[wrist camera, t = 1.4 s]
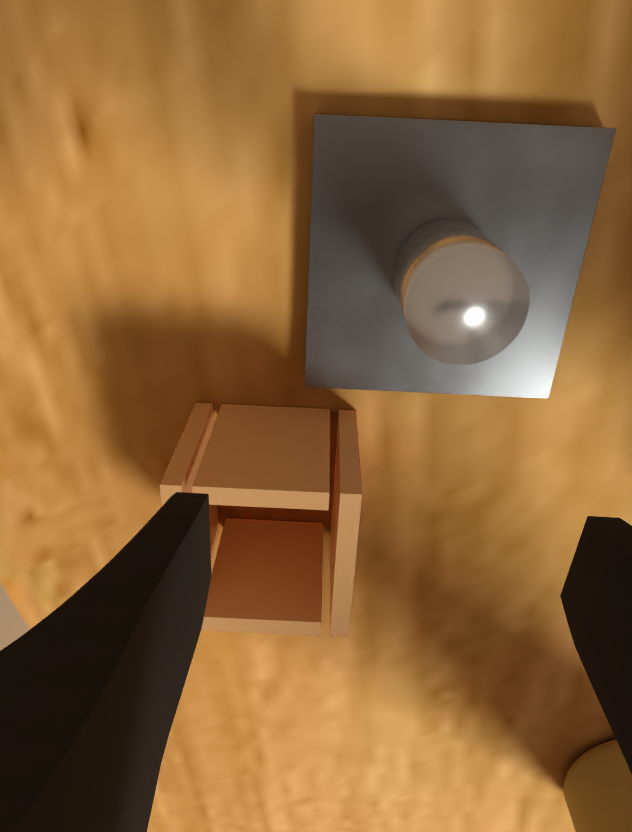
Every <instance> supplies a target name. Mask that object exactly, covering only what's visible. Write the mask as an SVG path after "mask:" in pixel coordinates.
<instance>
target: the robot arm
mask: <svg viewBox="0 0 632 832" xmlns="http://www.w3.org/2000/svg"><path fill="white" fill-rule="evenodd" d="M210 581H211V550H210V520H209V494H204V493H187V492H176V493H175V494H173V495H172V496H171V497H170V498H169V499H168V500H167V501H166V503H165V504H164V505H163V506H162V507H161V508H160V509H159V510H158V511H157V513H156V514H155V515H154V516H153V517H152V518H151V519H150V520H149V521H148V523H147V524H146V525H145V526H144V527H143V528H142V529H141V530H140V531H139V532H138V533H137V534H136V535H135V536H134V537H133V538H132V539H131V540H130V541H129V542H128V543H127V544H126V545H125V546H124V547H123V549H122V550H121V551H120V552H119V553H118V554H117V555H116V556H115V557H114V558H113V559H112V560H111V561H110V562H109V563H107V564H106V565H105V566H104V567H103V568H102V569H101V570H100V571H99V572H98V573H97V574H96V575H95V576H93V577H92V578H91V579H90V580H89V581H88V582H87V583H86V584H85V585H83V586H82V587H81V588H80V589H79V590H78V591H77V592H76V593H75V594H74V595H72V596H71V597H70V598H69V599H68V600H67V601H65V602H64V603H63V604H62V605H61V606H59V607H58V608H57V609H56V610H55V611H53V612H52V613H51V614H50V615H48V616H47V617H46V618H45V619H43V620H42V621H41V622H39V623H38V624H37V625H36V626H34V627H33V628H32V629H30V630H29V631H28V632H27V633H25V634H24V635H23V636H21V637H20V638H18V639H17V640H16V641H14V642H13V643H11V644H10V645H8V646H7V647H6V648H4V649H3V650H1V651H0V832H147V828H148V823H149V818H150V813H151V809H152V804H153V799H154V794H155V790H156V785H157V780H158V775H159V771H160V766H161V762H162V758H163V754H164V750H165V747H166V743H167V739H168V736H169V732H170V729H171V726H172V723H173V719H174V716H175V713H176V710H177V706H178V703H179V700H180V697H181V693H182V690H183V687H184V684H185V680H186V677H187V674H188V671H189V668H190V664H191V661H192V658H193V654H194V651H195V648H196V645H197V641H198V638H199V635H200V631H201V628H202V624H203V619H204V614H205V608H206V603H207V598H208V592H209V586H210ZM561 600H562V603H563V607H564V611H565V614H566V618H567V622H568V625H569V628H570V632H571V635H572V638H573V641H574V644H575V647H576V650H577V652H578V654H579V657H580V659H581V661H582V664H583V666H584V668H585V670H586V673H587V675H588V677H589V680H590V682H591V684H592V686H593V689H594V691H595V693H596V695H597V698H598V700H599V702H600V704H601V707H602V709H603V711H604V713H605V715H606V718H607V720H608V722H609V724H610V727H611V729H612V731H613V733H614V736H615V738H616V740H617V742H618V744H619V747H620V749H621V751H622V753H623V756H624V758H625V760H626V762H627V765H628V767H629V770H630V772H631V775H632V526H631V525H630V524H628V523H627V522H625V521H624V520H622V519H620V518H611V517H594V516H588V517H587V520H586V523H585V525H584V528H583V531H582V534H581V537H580V540H579V543H578V546H577V549H576V552H575V555H574V558H573V561H572V564H571V566H570V569H569V572H568V575H567V578H566V581H565V584H564V587H563V590H562V593H561Z"/></svg>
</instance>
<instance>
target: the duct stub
mask: <svg viewBox="0 0 632 832" xmlns="http://www.w3.org/2000/svg"><path fill="white" fill-rule="evenodd" d="M615 131H616V129H615V128H607V127H591V126H570V125H548V124H527V123H506V122H485V121H464V120H443V119H422V118H401V117H380V116H359V115H338V114H317V113H315V114H314V140H313V168H312V196H311V223H310V251H309V279H308V306H307V334H306V362H305V387H320V388H341V389H361V390H382V391H403V392H424V393H445V394H465V395H486V396H507V397H528V398H548V397H549V393H550V389H551V385H552V381H553V377H554V373H555V369H556V365H557V361H558V357H559V353H560V349H561V345H562V341H563V337H564V333H565V329H566V326H567V322H568V318H569V314H570V310H571V306H572V302H573V298H574V294H575V290H576V286H577V282H578V278H579V274H580V270H581V266H582V262H583V258H584V254H585V250H586V246H587V242H588V238H589V234H590V230H591V226H592V222H593V218H594V215H595V211H596V207H597V203H598V199H599V195H600V191H601V187H602V183H603V179H604V175H605V171H606V167H607V163H608V159H609V155H610V151H611V147H612V143H613V139H614V135H615Z"/></svg>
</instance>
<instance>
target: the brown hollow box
mask: <svg viewBox="0 0 632 832" xmlns="http://www.w3.org/2000/svg"><path fill="white" fill-rule="evenodd" d="M176 492H187V493H204V494H209V520H210V550H211V557H212V554H213V550H214V546H215V542H216V538H217V534H218V531H219V526H218V505H227V506H247V507H268V508H289V509H309V510H328V509H329V493H330V409H318V408H298V407H277V406H256V405H235V404H221V407H220V410H219V412H218V415H217V418H216V421H215V424H214V414H213V403H195V406H194V408H193V410H192V413H191V415H190V417H189V419H188V422H187V424H186V426H185V428H184V431H183V433H182V435H181V437H180V440H179V442H178V444H177V446H176V449H175V451H174V453H173V456H172V458H171V460H170V462H169V465H168V467H167V469H166V471H165V474H164V476H163V478H162V480H161V483H160V494H161V504H162V506H163V505H164V504H165V503H166V501H167V500H168V499H169V498H170V497H171V496H172V495H173V494H175V493H176ZM361 500H362V487H361V473H360V460H359V446H358V433H357V419H356V410H339V412H338V427H337V442H336V457H335V472H334V486H333V501H332V516H331V531H330V636H331V637H348V636H349V626H350V616H351V605H352V595H353V584H354V574H355V563H356V553H357V542H358V532H359V521H360V511H361ZM322 562H323V523H318V522H297V521H277V520H256V519H235V518H226V519H225V523H224V527H223V531H222V535H221V539H220V543H219V547H218V551H217V555H216V559H215V563H214V567H213V571H212V575H211V581H210V586H209V592H208V598H207V603H206V608H205V614H204V619H203V624H202V630H208V631H228V632H249V633H269V634H290V635H310V636H320V634H321V609H322Z"/></svg>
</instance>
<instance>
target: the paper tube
mask: <svg viewBox="0 0 632 832" xmlns="http://www.w3.org/2000/svg"><path fill="white" fill-rule="evenodd" d="M563 788H564V796H565V800H566V803H567V806H568V809H569V812H570V815H571V818H572V821H573V825H574V828H575V831H576V832H632V775H631V772H630V770H629V767H628V765H627V762H626V760H625V758H624V756H623V753H622V751H621V749H620V747H619V744H618V742H617V740H616V739H615V740H611V741H608V742H605V743H602V744H600V745H598V746H595V747H593V748H592V749H590V750H588V751H587V752H585V753H584V754H582V755H581V756H580V757H579V758H578V759H577V760H575V762H574V763H573V764H572V765H571V766H570V768H569V770H568V772H567V774H566V778H565V781H564V787H563Z"/></svg>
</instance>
